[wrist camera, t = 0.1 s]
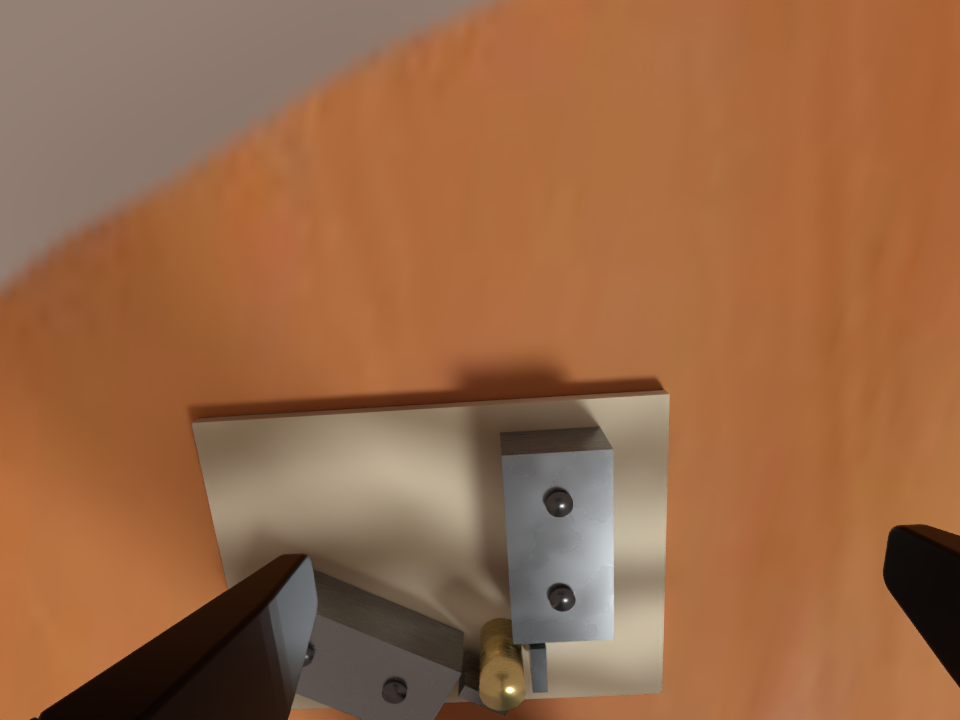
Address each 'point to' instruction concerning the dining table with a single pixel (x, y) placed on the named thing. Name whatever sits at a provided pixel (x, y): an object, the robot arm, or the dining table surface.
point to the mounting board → (443, 515)
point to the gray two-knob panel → (383, 657)
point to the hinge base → (551, 555)
